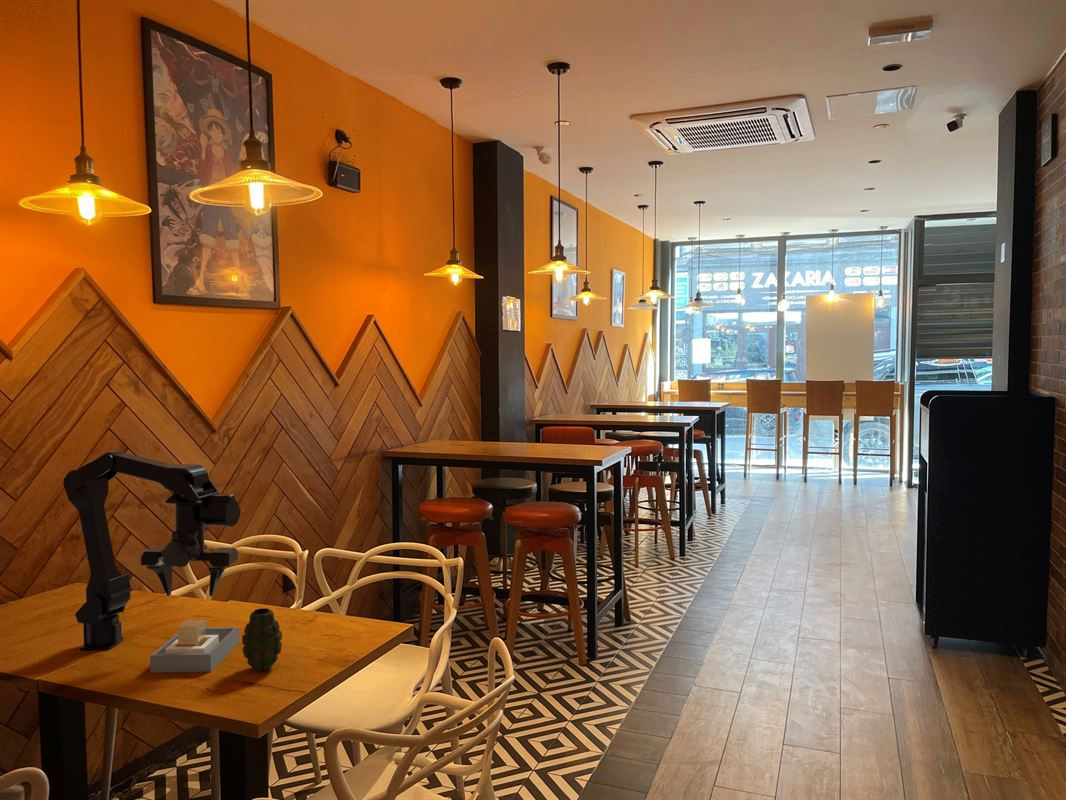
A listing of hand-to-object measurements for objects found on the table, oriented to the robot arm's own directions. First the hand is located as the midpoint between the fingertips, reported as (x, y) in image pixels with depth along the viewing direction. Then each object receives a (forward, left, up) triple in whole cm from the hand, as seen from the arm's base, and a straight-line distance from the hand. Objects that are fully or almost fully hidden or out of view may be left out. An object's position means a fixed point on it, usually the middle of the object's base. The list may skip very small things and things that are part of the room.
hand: (190, 595), depth 162 cm
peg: (+3, -6, -12) cm, 14 cm away
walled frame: (+3, -3, -12) cm, 13 cm away
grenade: (+19, -10, -12) cm, 25 cm away
